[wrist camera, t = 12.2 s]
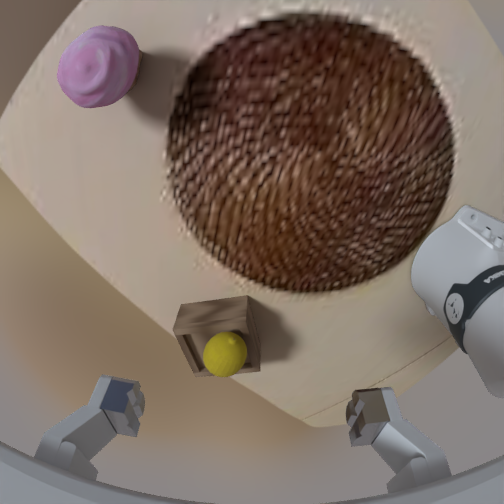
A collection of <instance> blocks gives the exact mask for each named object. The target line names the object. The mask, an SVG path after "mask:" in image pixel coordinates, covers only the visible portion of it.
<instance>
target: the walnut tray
mask: <svg viewBox="0 0 504 504" xmlns="http://www.w3.org/2000/svg"><path fill="white" fill-rule="evenodd" d="M173 332H174V334H175V336H176V338H177V340H178V342H179V344H180V346H181V349H182V351H183V353H184V355H185V357H186V359H187V361H188V362H189V365H190V367H191V369H192V371H193V373H194V375H195V376H196V377H200V376H216V375H213V374H212V373H210V372H209V371H208V369H207V368H206V366H205V364H204V361H203V352H204V349H205V346H206V344H207V343H208V341H209V340H210V339H211V338H212V337H214V336H215V335H216V334H218V333H221V332H233V333H235V334H237V335H239V336H240V337H241V338H242V339H243V340H244V342H245V344H246V347H247V357H246V360H245V363H244V365H243V366H242V368H241V369H240V370H239V371H238V372H237V373H235V374H239V373H249V372H259V371H260V341H259V337H258V334H257V330H256V326H255V322H254V318H253V315H252V311H251V307H250V303H249V299H248V295H246V296H239V297H232V298H225V299H218V300H211V301H203V302H196V303H188V304H181V306H180V309H179V312H178V315H177V318H176V321H175V324H174V327H173Z"/></svg>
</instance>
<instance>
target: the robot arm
mask: <svg viewBox="0 0 504 504" xmlns="http://www.w3.org/2000/svg"><path fill="white" fill-rule="evenodd" d="M472 215H473V216H472ZM471 216H472V218H471ZM411 280H412V285H413V288H414V290H415V292H416V293H417V294H418V295H419V296H420V297H421V298H422V299H423V300H424V301H425V303H426V307H427V310H428V311H429V313H430V314H431V315H436V316H437V317H438V319H439V320H440V321H441V322H442V324H443V325H444V326H445V327H446V328H447V330H448V331H449V332H450V333H451V334H452V335H453V337H454V339H455V340H456V341H455V342H456V343H457V345H458V346H459V347H460V348H461V349H462V351H463V352H464V353H466V354H468V355H469V357H470V359H471V360H472V362H473V364H474V366H475V368H476V369H477V371H478V373H479V375H480V377H481V379H482V380H483V382H484V384H485V386H486V388H487V390H488V391H489V392H490V393H491V394H492V395H494V396H495V397H499V398H504V222H502V221H500V220H498V219H496V218H494V217H492V216H490V215H488V214H486V213H484V212H482V211H480V210H478V209H475V208H473V207H471V206H469V205H465V206H463V207H462V208H461V209H460V210H459V211H458V212H457V213H456V215H455V216H454V217H453V218H452V219H451V220H450V221H448V222H447V223H445V224H443V225H442V226H440V227H439V228H437V229H436V230H435V231H433V232H432V233H431V234H430V235H429V236H428V237H427V239H426V240H425V241H424V242H423V244H422V245H421V247H420V248H419V250H418V252H417V254H416V256H415V259H414V262H413V265H412V271H411ZM140 387H141V386H140V383H139V381H135V380H129V379H123V378H118V377H114V376H108V375H102V376H101V377H100V378H99V380H98V382H97V384H96V387H95V389H94V391H93V394H92V396H91V399H90V401H89V403H88V405H87V406H86V405H84V406H82V407H81V408H80V409H78V410H77V411H75V412H74V413H72V414H71V415H69V416H68V417H67V418H65V419H64V420H62V421H61V422H59V423H58V424H56V425H55V426H53V427H52V428H51V429H49V430H48V431H46V432H45V433H44V435H43V437H42V440H41V442H40V444H39V447H38V449H37V451H36V454H35V456H34V457H32V456H29V455H27V454H25V453H23V452H21V451H18V450H17V449H15V448H13V447H11V446H9V445H6V444H5V443H3V442H1V441H0V504H213V503H203V502H195V501H187V500H180V499H173V498H167V497H161V496H156V495H151V494H146V493H142V492H137V491H133V490H128V489H124V488H120V487H116V486H113V485H109V484H106V483H102V482H99V481H96V477H97V474H98V471H97V469H96V468H95V467H94V466H93V465H92V464H91V463H90V459H92V458H93V457H94V456H95V455H96V454H97V453H98V452H99V451H100V450H101V449H102V448H103V447H104V446H106V445H107V444H108V443H109V442H110V441H111V440H112V439H113V438H114V437H115V436H116V435H117V434H122V435H128V436H133V437H137V433H138V429H139V426H140V422H139V420H138V418H139V417H141V416H142V415H143V412H144V407H145V398H144V394H143V393H142V392H141V391H140ZM346 420H347V424H348V425H349V426H350V427H351V430H350V432H349V436H350V441H351V446H362V445H371V446H372V447H373V448H374V449H375V451H376V452H377V453H378V454H379V455H380V456H381V457H382V458H383V460H384V461H385V462H386V463H387V464H388V465H389V466H390V467H391V469H392V470H393V471H394V472H395V473H396V476H394V477H393V478H392V479H391V480H390V481H389V482H388V483H387V489H388V494H383V495H378V496H372V497H367V498H361V499H355V500H347V501H340V502H331V503H321V504H504V455H502V456H500V457H498V458H496V459H494V460H491V461H489V462H487V463H484V464H482V465H480V466H477V467H474V468H472V469H469V470H467V471H464V472H461V473H458V474H456V475H453V476H452V475H451V472H450V469H449V465H448V462H447V459H446V456H445V453H444V451H443V449H441V448H440V447H439V446H438V445H436V444H435V443H434V442H433V441H432V440H430V439H429V438H428V437H427V436H426V435H425V434H423V433H422V432H421V431H420V430H419V429H417V428H416V427H415V426H414V425H413V424H412V423H410V422H409V421H408V420H407V419H403V418H402V415H401V412H400V409H399V406H398V403H397V400H396V397H395V394H394V391H393V389H392V388H391V387H384V388H371V389H361V390H355V391H353V393H352V400H351V401H349V402H348V405H347V408H346ZM116 433H117V434H116Z"/></svg>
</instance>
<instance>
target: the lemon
mask: <svg viewBox="0 0 504 504" xmlns="http://www.w3.org/2000/svg"><path fill="white" fill-rule="evenodd" d="M246 357H247V347H246V344H245V342H244V340H243V339H242V338H241V337H240V336H239V335H237V334H235V333H233V332H221V333H218V334H216V335H215V336H214V337H212V338H211V339H210V340H209V341H208V343H207V344H206V346H205V349H204V352H203V361H204V364H205V366H206V368H207V369H208V371H209V372H210V373H212V374H213V375H216V376H219V377H228V376H232V375H234V374H235V373H237V372H238V371H239V370H240V369H241V368H242V366H243V365H244V363H245V360H246Z"/></svg>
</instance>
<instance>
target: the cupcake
mask: <svg viewBox="0 0 504 504" xmlns="http://www.w3.org/2000/svg"><path fill="white" fill-rule="evenodd" d="M141 60H142V52H141V51H140V50H139V48H138V45H137V43H136V41H135V39H134V38H133V36H132V35H131V34H130V33H129V32H127V31H125V30H123V29H121V28H117V27H113V26H112V27H109V26H96V27H93V28H90V29H89V30H87V31H86V32H84V33H83V34H81V35H80V36H79V37H77V38H76V39H75V40H74V41H73V42H71V43H70V44H69V46H68V47H67V48H66V49H65V51H64V52H63V54H62V56H61V59H60V62H59V67H58V73H57V79H58V82H59V84H60V86H61V88H62V90H63V92H64V93H65V94H66V95H67V96H68V97H69V98H70V99H71V100H72V101H73V102H74V103H76V104H77V105H79V106H81V107H84V108H96V107H103V106H107V105H111V104H113V103H115V102H116V101H118V100H119V99H121V98H122V97H123V96H124V95H125V94H126V93H127V91H129V90H131V89H132V88H133V87H134V86H135V85H136V82H137V77H138V74H139V66H140V63H141Z"/></svg>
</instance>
